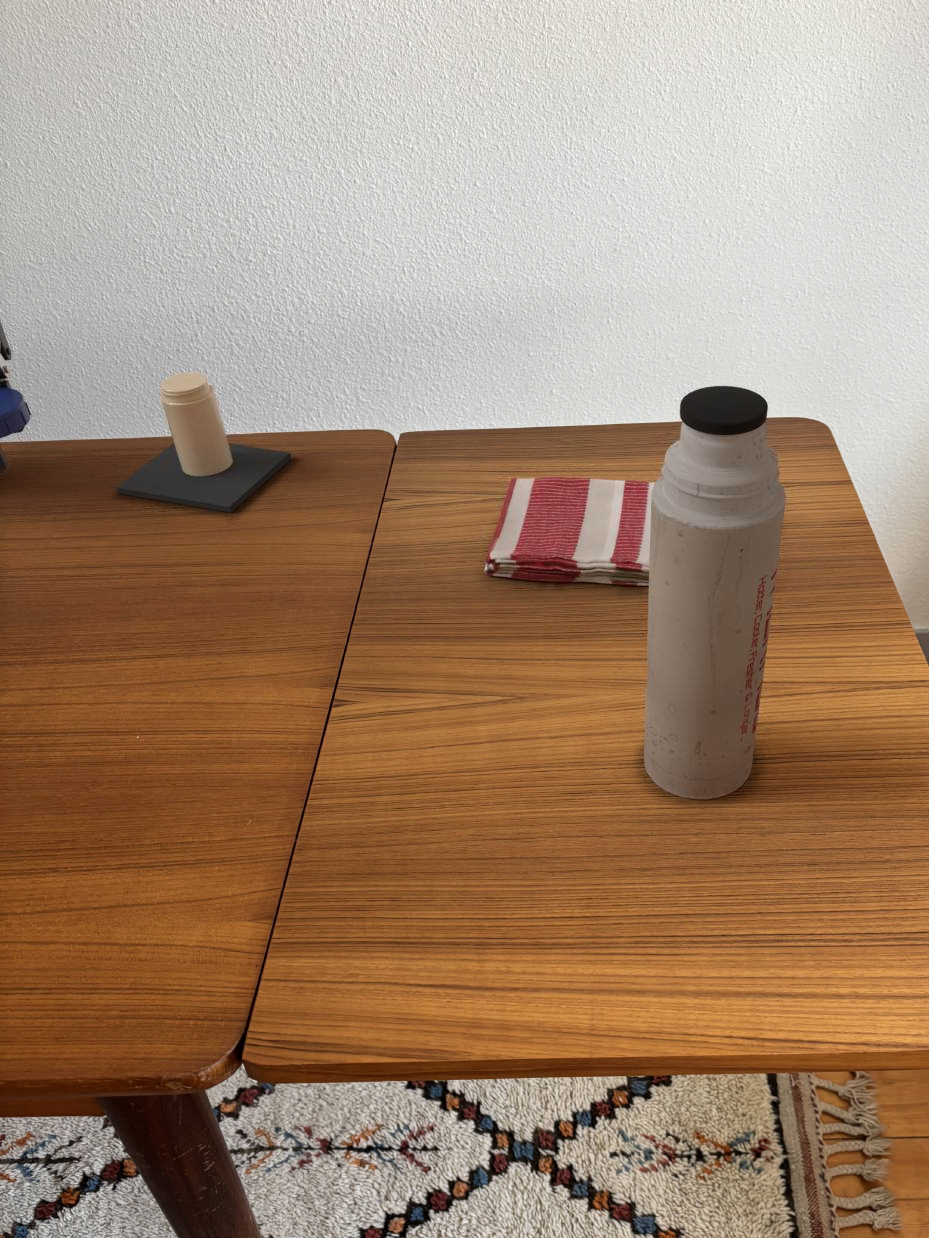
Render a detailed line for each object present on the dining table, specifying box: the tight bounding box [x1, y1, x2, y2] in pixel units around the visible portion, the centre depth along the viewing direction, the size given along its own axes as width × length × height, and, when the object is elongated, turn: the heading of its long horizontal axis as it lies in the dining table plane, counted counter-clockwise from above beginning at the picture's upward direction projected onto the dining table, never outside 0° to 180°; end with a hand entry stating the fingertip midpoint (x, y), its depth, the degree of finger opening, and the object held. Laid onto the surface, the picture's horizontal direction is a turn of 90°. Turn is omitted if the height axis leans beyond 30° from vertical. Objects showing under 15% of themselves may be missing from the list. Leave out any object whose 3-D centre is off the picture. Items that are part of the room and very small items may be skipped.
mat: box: [115, 442, 292, 514], centre depth 112 cm, size 14×12×1 cm
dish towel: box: [483, 476, 656, 587], centre depth 100 cm, size 17×23×3 cm
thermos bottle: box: [643, 385, 787, 800], centre depth 68 cm, size 8×8×28 cm
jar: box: [159, 371, 233, 476], centre depth 110 cm, size 5×5×9 cm
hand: (2, 449), depth 76 cm, fingers closed on lid, 5 cm apart
